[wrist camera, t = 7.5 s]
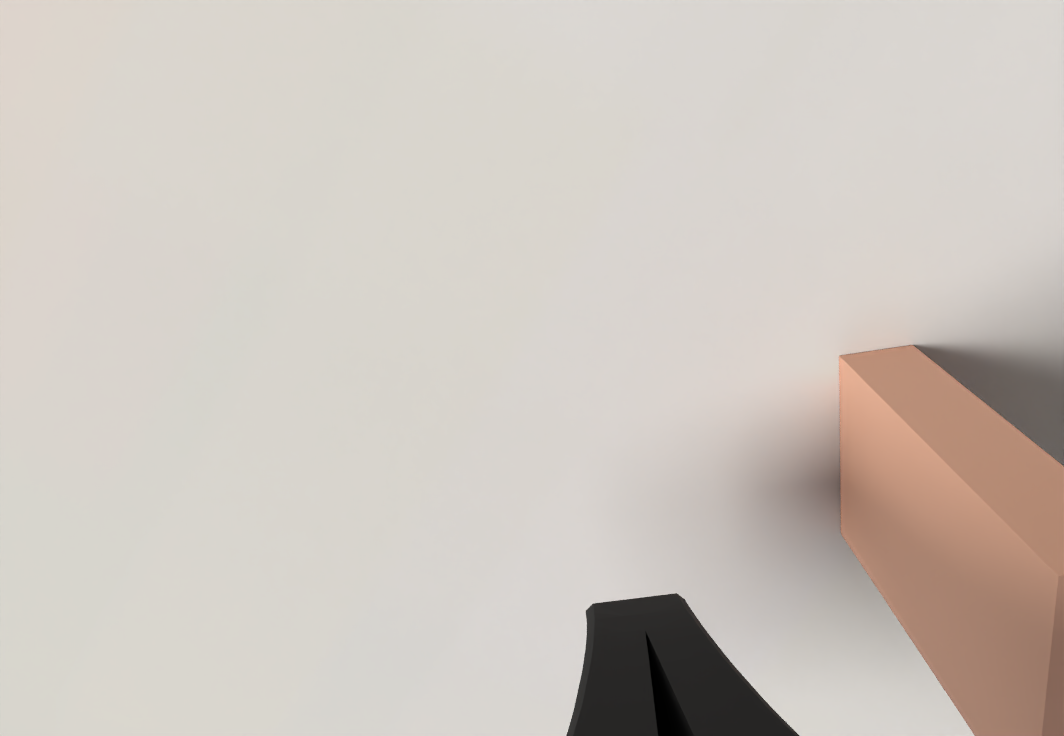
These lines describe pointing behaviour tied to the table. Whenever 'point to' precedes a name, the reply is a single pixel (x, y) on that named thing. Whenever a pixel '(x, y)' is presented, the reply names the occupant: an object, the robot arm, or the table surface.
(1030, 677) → the domino
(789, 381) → the table surface
